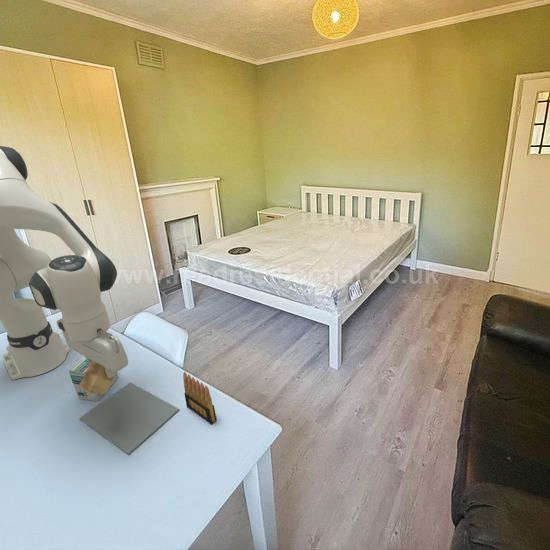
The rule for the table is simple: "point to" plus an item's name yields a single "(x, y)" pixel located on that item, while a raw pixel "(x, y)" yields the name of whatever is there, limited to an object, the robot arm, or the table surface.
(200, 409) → the ammunition clip
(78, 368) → the light bulb box
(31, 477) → the table surface
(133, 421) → the slate mat
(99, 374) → the oak block
